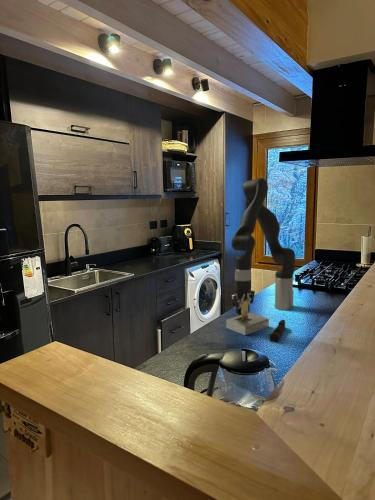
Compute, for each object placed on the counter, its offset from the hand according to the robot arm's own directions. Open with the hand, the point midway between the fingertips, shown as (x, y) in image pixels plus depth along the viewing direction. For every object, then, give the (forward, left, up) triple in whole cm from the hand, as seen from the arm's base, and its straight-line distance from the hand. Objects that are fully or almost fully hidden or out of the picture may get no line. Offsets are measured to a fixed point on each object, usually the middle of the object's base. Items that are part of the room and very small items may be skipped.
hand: (242, 313), depth 163 cm
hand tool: (-6, +16, -7) cm, 18 cm away
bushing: (0, 0, -2) cm, 2 cm away
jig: (-2, +1, -7) cm, 7 cm away
